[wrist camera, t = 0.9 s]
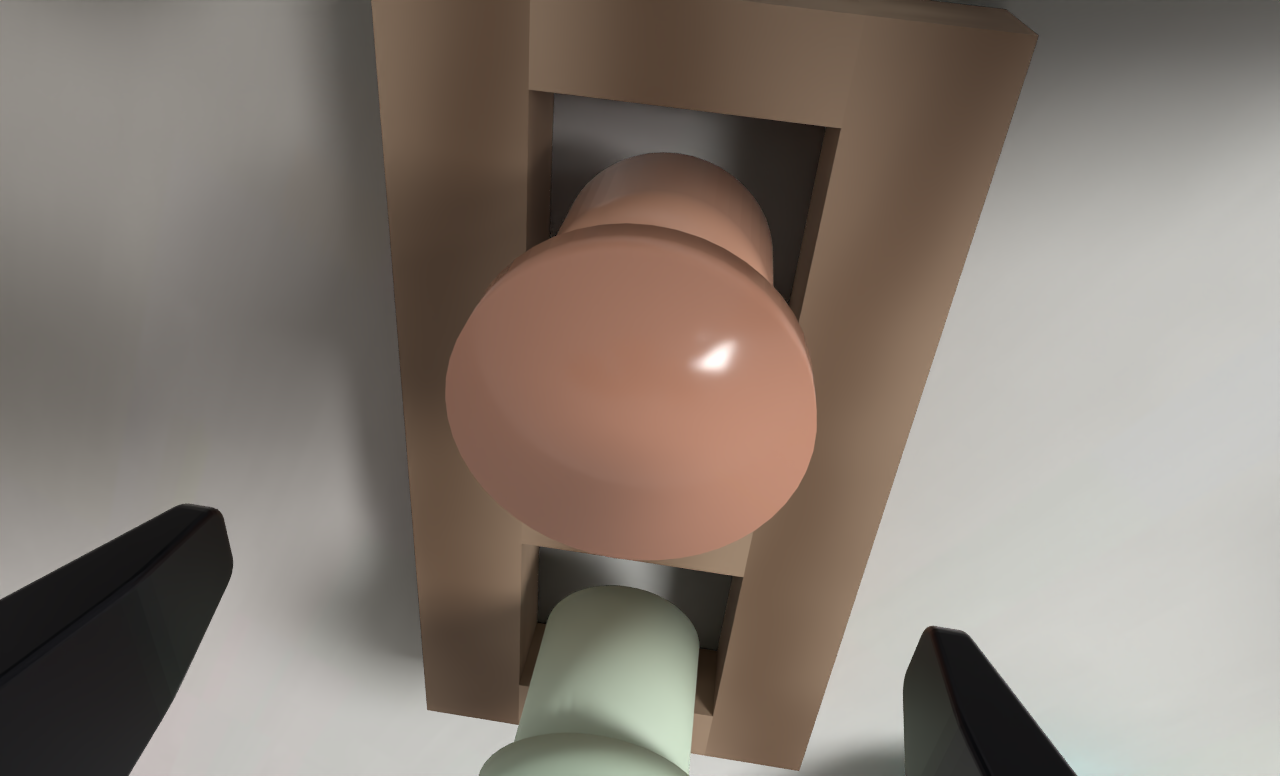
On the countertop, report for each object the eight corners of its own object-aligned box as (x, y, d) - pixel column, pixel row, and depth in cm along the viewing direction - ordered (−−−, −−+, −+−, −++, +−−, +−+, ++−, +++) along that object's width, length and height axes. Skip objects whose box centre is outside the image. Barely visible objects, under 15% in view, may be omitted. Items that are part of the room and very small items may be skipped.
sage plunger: (734, 586, 23) (725, 799, 18) (707, 717, 26) (692, 928, 21) (526, 555, 23) (461, 755, 18) (524, 687, 26) (467, 889, 21)
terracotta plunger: (828, 140, 16) (855, 283, 11) (776, 387, 19) (779, 583, 14) (536, 104, 17) (437, 226, 12) (530, 352, 20) (451, 533, 15)
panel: (1006, 9, 17) (1039, 35, 15) (796, 703, 29) (799, 770, 27) (414, -60, 18) (367, -44, 16) (450, 648, 30) (427, 709, 28)
